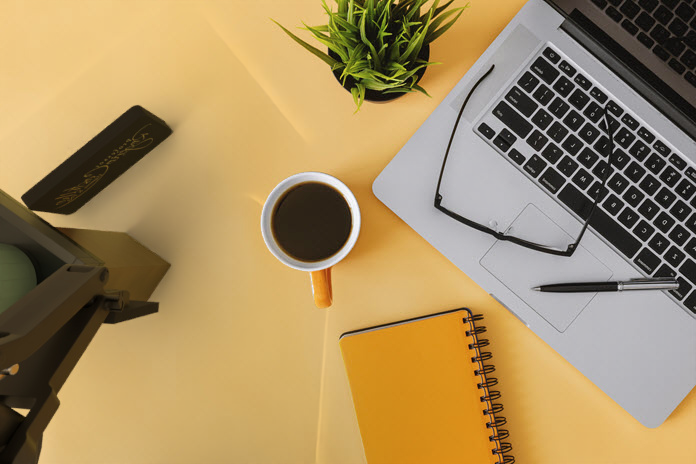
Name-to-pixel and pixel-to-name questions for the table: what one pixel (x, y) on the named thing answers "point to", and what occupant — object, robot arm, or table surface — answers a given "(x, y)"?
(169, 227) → the table surface
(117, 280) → the stand
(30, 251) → the tray
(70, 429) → the table surface
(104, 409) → the table surface
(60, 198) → the nameplate
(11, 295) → the mug
